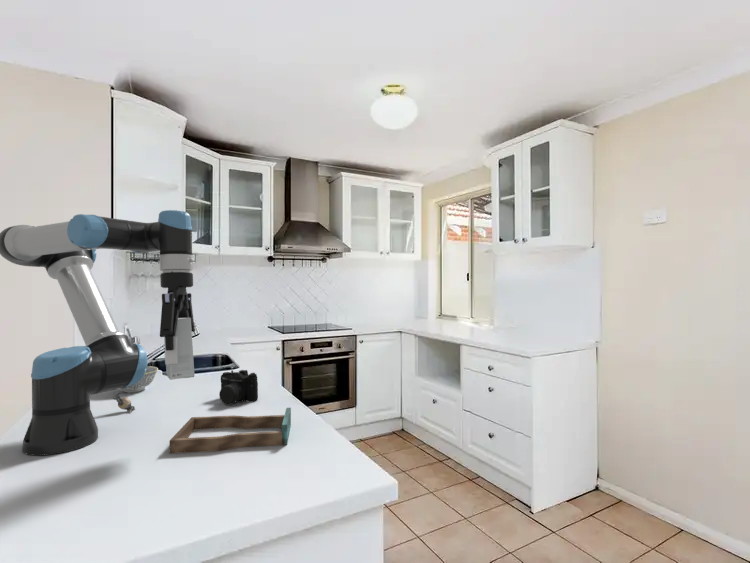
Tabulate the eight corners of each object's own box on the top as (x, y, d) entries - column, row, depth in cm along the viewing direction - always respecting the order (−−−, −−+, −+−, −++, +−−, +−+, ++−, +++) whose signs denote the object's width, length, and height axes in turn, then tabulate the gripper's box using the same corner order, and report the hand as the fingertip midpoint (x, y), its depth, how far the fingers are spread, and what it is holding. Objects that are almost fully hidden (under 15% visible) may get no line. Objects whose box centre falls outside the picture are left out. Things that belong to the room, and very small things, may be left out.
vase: (110, 415, 127) (110, 395, 128) (116, 412, 133) (116, 392, 133) (130, 414, 129) (130, 394, 129) (135, 410, 134) (135, 391, 134)
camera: (206, 403, 140) (206, 373, 140) (227, 395, 150) (227, 367, 150) (240, 408, 135) (240, 376, 135) (260, 399, 145) (260, 370, 145)
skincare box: (194, 377, 105) (193, 317, 105) (167, 381, 101) (166, 319, 102) (190, 372, 112) (188, 316, 112) (164, 375, 109) (163, 318, 109)
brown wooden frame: (169, 453, 99) (169, 432, 99) (191, 428, 116) (191, 410, 116) (286, 447, 102) (286, 426, 102) (291, 423, 120) (291, 405, 120)
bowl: (166, 388, 160) (166, 368, 160) (123, 398, 147) (123, 376, 147) (143, 383, 169) (143, 364, 169) (100, 392, 155) (100, 371, 155)
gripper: (175, 269, 96) (178, 367, 96) (205, 273, 119) (207, 353, 118) (141, 270, 96) (144, 368, 95) (177, 274, 118) (179, 354, 117)
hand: (179, 360), depth 107 cm, fingers closed on skincare box, 9 cm apart
